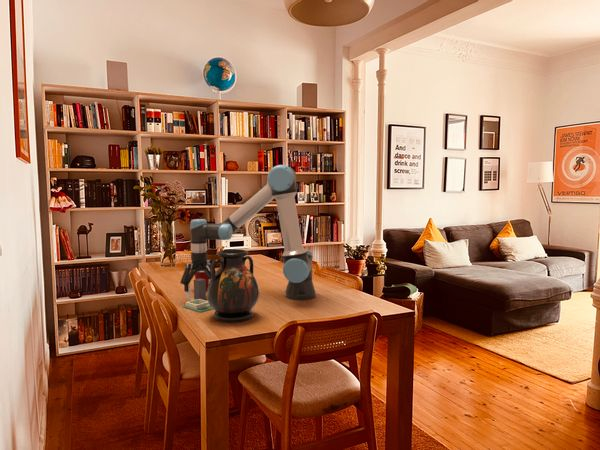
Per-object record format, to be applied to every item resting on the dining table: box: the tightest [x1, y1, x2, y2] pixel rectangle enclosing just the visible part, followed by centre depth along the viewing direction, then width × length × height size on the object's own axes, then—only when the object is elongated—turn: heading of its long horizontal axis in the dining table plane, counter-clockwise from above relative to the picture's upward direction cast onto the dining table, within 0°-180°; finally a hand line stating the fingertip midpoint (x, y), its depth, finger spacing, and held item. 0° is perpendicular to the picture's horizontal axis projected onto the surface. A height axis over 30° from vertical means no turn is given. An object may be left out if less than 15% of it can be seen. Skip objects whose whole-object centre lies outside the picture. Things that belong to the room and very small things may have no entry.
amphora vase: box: [206, 248, 260, 323], centre depth 186 cm, size 22×22×28 cm
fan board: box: [182, 297, 214, 314], centre depth 201 cm, size 13×9×3 cm
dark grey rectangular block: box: [193, 278, 207, 301], centre depth 214 cm, size 5×4×10 cm
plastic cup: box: [194, 265, 211, 292], centre depth 233 cm, size 11×11×12 cm
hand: (199, 295), depth 214 cm, fingers open, 13 cm apart
